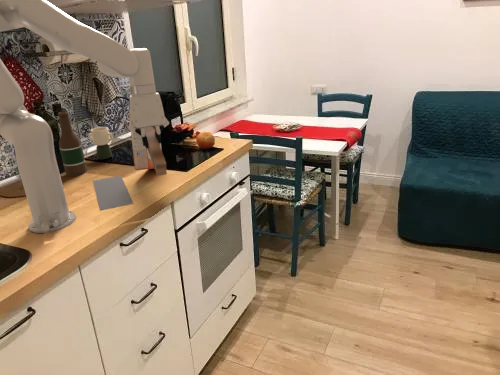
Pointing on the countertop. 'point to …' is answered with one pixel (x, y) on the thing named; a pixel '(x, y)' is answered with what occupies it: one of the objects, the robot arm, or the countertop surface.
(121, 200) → the mat
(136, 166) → the cracker box
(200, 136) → the fruit
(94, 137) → the cream and green trophy
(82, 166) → the beer bottle
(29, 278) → the countertop surface
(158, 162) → the bar
